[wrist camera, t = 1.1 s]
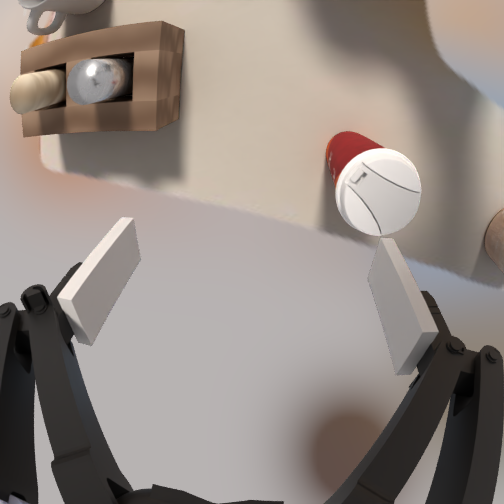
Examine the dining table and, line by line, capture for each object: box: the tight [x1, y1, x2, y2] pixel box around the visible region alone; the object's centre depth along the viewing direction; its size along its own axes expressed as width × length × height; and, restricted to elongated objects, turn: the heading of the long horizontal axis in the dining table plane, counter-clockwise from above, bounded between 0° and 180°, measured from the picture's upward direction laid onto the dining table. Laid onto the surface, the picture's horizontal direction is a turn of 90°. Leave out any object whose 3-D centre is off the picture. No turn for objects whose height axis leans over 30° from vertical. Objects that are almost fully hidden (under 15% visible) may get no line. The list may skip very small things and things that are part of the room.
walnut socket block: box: [21, 21, 184, 137], centre depth 29 cm, size 12×20×8 cm, turn 84°
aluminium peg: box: [67, 59, 134, 105], centre depth 25 cm, size 4×4×8 cm
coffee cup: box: [326, 131, 421, 236], centre depth 30 cm, size 8×8×15 cm
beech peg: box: [10, 68, 66, 114], centre depth 25 cm, size 4×4×8 cm
